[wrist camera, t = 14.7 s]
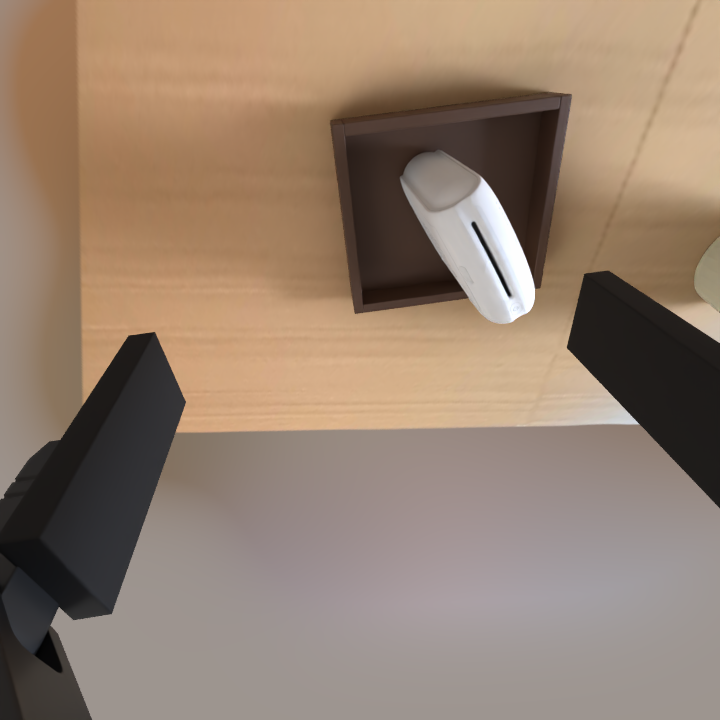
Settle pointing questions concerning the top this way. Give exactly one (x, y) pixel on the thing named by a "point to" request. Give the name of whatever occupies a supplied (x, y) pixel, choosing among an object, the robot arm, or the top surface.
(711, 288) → the reusable coffee cup
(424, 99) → the top surface
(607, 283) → the robot arm
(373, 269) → the tray
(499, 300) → the photo printer
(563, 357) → the top surface
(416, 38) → the top surface
